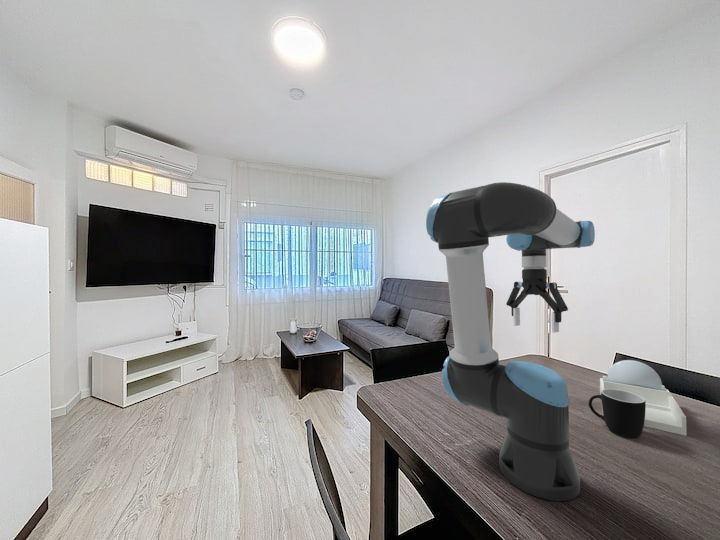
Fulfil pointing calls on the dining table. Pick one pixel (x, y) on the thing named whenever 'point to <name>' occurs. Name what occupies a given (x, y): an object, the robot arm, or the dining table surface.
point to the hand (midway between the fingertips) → (534, 328)
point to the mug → (622, 412)
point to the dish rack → (654, 407)
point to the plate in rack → (634, 374)
